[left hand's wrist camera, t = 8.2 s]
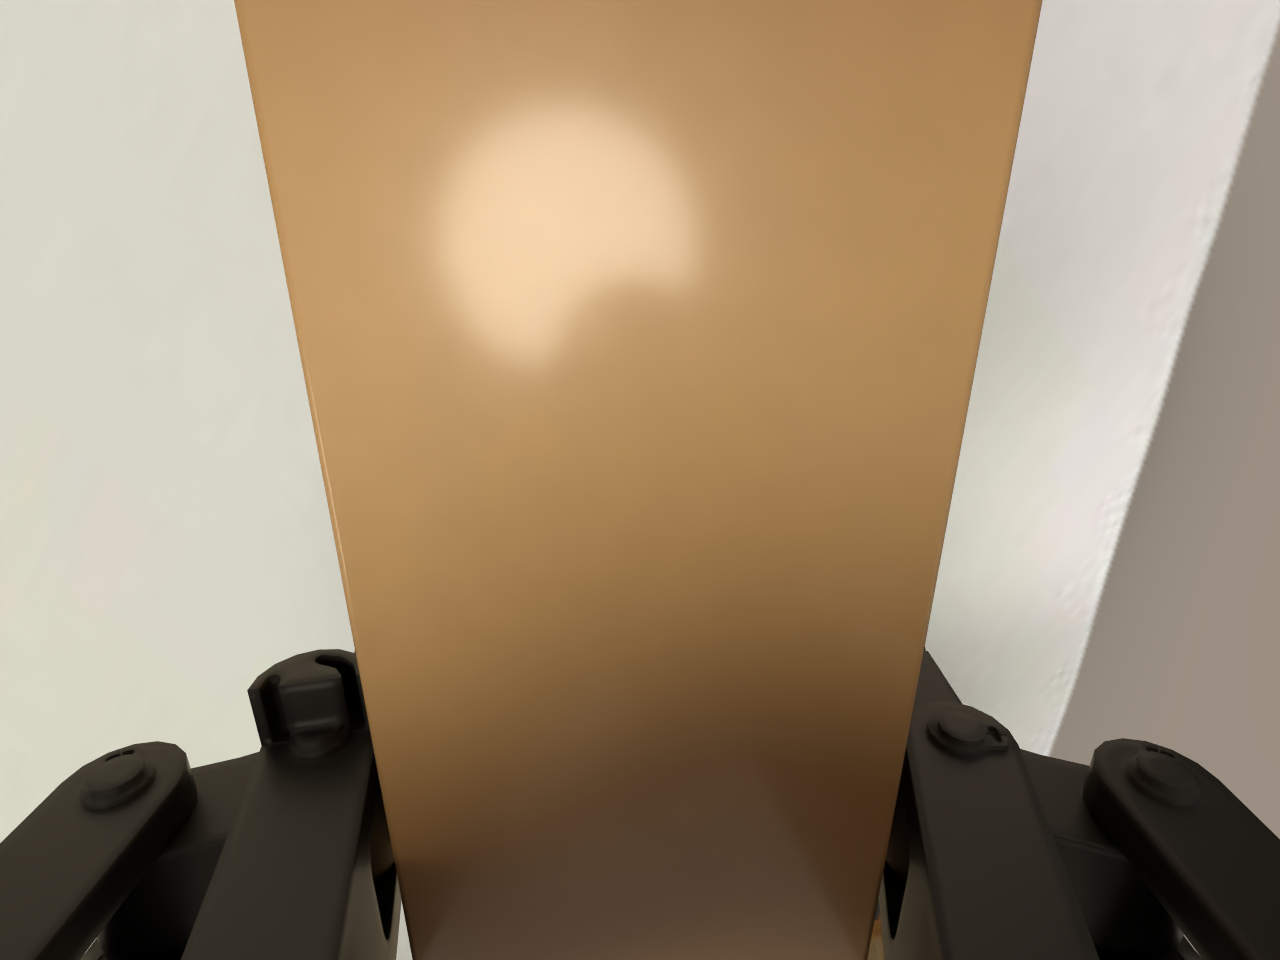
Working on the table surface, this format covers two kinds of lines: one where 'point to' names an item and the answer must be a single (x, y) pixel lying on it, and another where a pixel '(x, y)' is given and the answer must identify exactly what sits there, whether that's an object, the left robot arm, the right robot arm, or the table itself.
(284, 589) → the table surface
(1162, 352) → the table surface
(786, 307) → the bar
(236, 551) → the table surface
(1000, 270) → the table surface
